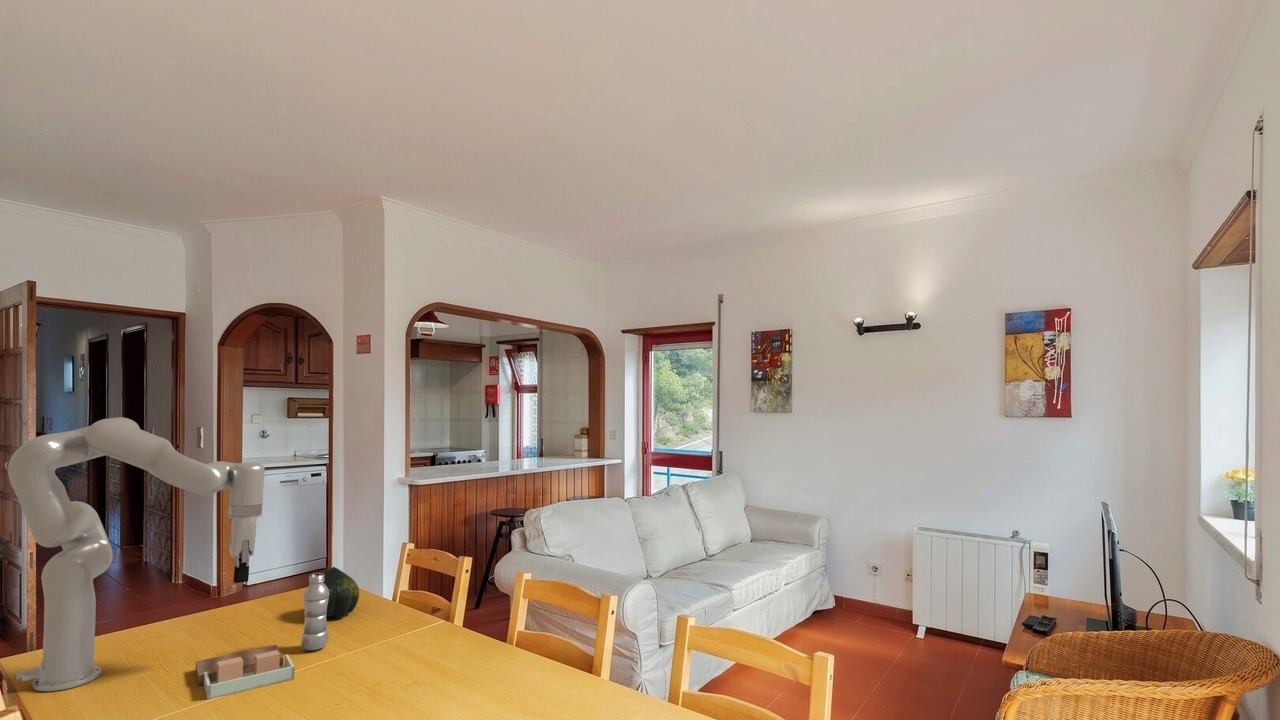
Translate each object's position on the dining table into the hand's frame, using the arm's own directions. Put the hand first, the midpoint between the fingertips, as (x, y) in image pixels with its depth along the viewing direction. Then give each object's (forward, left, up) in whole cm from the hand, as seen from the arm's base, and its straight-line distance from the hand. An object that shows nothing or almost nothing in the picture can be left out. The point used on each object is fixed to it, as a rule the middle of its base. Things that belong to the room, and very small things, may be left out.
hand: (240, 581), depth 172 cm
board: (0, -5, -21) cm, 21 cm away
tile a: (-3, -11, -18) cm, 21 cm away
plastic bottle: (+18, -2, -21) cm, 28 cm away
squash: (+28, +23, -21) cm, 42 cm away
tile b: (+4, -12, -18) cm, 22 cm away
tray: (+1, -14, -21) cm, 25 cm away
